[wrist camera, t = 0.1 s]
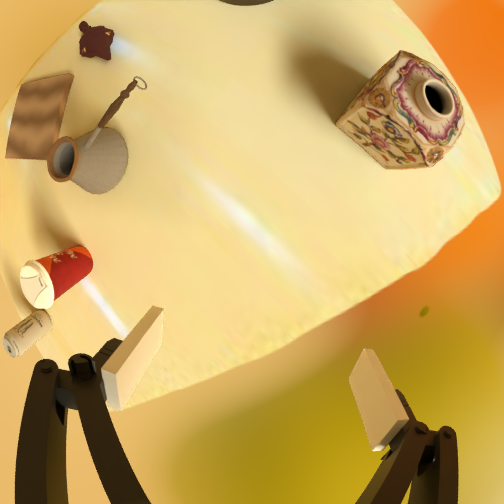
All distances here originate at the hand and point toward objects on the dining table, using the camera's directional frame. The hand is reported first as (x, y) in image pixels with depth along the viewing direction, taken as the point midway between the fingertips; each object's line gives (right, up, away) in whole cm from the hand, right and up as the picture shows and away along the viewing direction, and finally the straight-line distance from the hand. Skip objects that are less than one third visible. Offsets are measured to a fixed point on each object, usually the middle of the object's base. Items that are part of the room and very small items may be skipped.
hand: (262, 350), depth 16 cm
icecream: (-29, +46, +19) cm, 57 cm away
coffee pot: (-22, +24, +24) cm, 40 cm away
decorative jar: (+20, +27, +21) cm, 40 cm away
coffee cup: (-34, +4, +30) cm, 46 cm away
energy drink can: (-52, -10, +35) cm, 63 cm away
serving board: (-47, +35, +22) cm, 63 cm away
